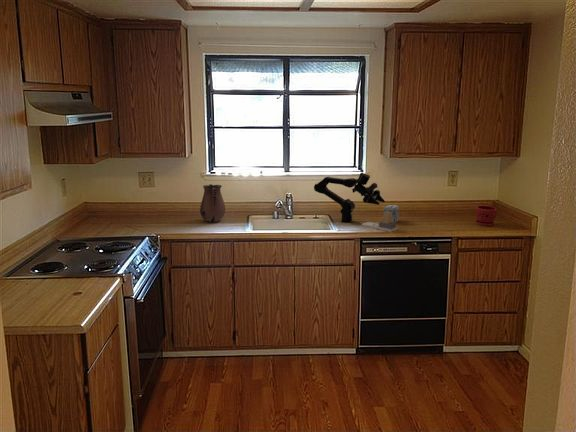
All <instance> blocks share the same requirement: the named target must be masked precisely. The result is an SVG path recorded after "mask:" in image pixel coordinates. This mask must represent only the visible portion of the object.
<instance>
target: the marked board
mask: <svg viewBox="0 0 576 432" xmlns="http://www.w3.org/2000/svg"><path fill="white" fill-rule="evenodd" d="M361 226H362V227H364V228H369V229H373V228H374V229H373V230H378V229H379V231H382V232H383V231H385V232H387V233H388V232H389V233H392V232H394V231H398V227H397V226H396V228H393V229H387V228H382V227H379V223H377V222H372V221H367V222H365V223H361Z"/></svg>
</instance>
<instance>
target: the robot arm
mask: <svg viewBox="0 0 576 432" xmlns="http://www.w3.org/2000/svg"><path fill="white" fill-rule="evenodd" d="M370 178H371V176H370V175H369V174H366V173H363V172H360V174H359V176H358V178H354V177H351V178H349V177H348V178H341V177H339V178H338V177H331V176H325V177H324V178H323V179H322V180H320V181H319V182H317V183H315V184H314V186H313V190H314V191H315V192H316V193H318V194H322V195H325V196H326V197H328V198H329V199H331V200H332V201H334V202H335V203H337V204H338V205H340V207H341V209H340V211H339V212H340V214H341V223H352V221H353V214H352V212H353V211H354V210H355V208H356V204H355V202H354V201H353V200H351V199H350V198H347V199H344V198H343V197H341V196H340V195H338V194H336V193H335V192H333V191H332V190H330V189H329V188H328V185H329V184H335V185H341V186H344V187H346V188H349V189H350V188H351V190H352V193H356V192H357V193H358V194H359V195H360V196H361V197H363V198H362V202H363V203H364V204H371V205H377V206H378V205H380V202H381V203H385V202H386V201H385V199H384V198H383V197H382V196H381V191H380V190H379V189H377V188H378V183H377V182H372V184H370V185H369V186H365V185H367V184H368V182H369V181H370Z"/></svg>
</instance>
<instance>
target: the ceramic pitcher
mask: <svg viewBox="0 0 576 432" xmlns="http://www.w3.org/2000/svg"><path fill="white" fill-rule="evenodd" d="M222 186H223V185H221V184H214V185H213V184H212V183H211V184H206V185H205V184H204V185H203V186H202V188H203V196H202V199H201V202H200V207H199V214H200V216H201V217H202V219H203V220H204V221H205V222H208V221H209V223H215V222H217V223H218V222H220V221H221V220H222V219H223V218H224V216H225V214H226V207H225V201H224V199H223V194H222V191H221V188H222Z"/></svg>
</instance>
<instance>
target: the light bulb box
mask: <svg viewBox="0 0 576 432" xmlns="http://www.w3.org/2000/svg"><path fill="white" fill-rule="evenodd" d="M386 211H389V212H392V222H393V223H398V222H399V215H400V206H399V205H395V204H389V205H386V206H384V207H383V212H386Z"/></svg>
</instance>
